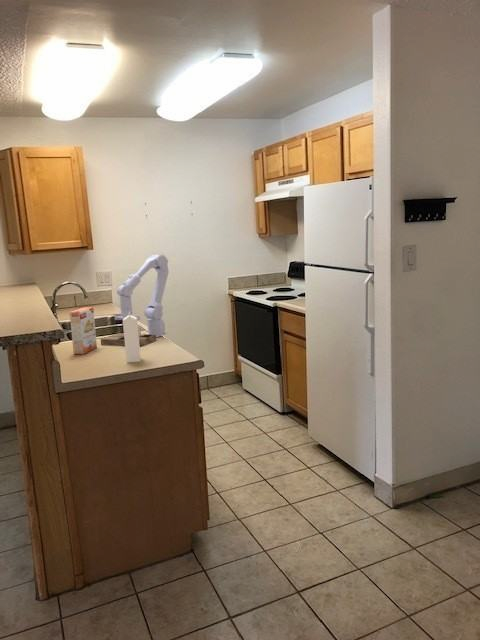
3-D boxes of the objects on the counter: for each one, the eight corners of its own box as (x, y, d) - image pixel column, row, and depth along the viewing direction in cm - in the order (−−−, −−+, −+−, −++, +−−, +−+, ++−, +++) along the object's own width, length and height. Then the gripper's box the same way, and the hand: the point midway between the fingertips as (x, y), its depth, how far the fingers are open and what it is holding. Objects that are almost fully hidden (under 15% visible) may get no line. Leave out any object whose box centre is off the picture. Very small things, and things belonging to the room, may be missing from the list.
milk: (140, 358, 241) (136, 310, 238) (140, 361, 236) (136, 312, 232) (127, 359, 241) (122, 311, 237) (126, 362, 235) (122, 313, 231)
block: (133, 334, 281) (133, 326, 280) (140, 334, 279) (140, 326, 279) (128, 336, 277) (128, 327, 276) (135, 336, 275) (135, 328, 275)
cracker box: (84, 354, 255) (80, 311, 251) (73, 354, 256) (68, 311, 253) (98, 347, 269) (93, 306, 265) (87, 347, 270) (82, 307, 266)
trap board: (118, 338, 288) (118, 333, 288) (156, 340, 278) (155, 334, 278) (101, 344, 275) (100, 339, 274) (140, 346, 265) (139, 340, 264)
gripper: (110, 309, 277) (112, 334, 279) (133, 309, 271) (135, 335, 273) (118, 307, 283) (120, 331, 285) (141, 307, 277) (143, 332, 280)
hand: (128, 333), depth 280 cm, fingers closed
